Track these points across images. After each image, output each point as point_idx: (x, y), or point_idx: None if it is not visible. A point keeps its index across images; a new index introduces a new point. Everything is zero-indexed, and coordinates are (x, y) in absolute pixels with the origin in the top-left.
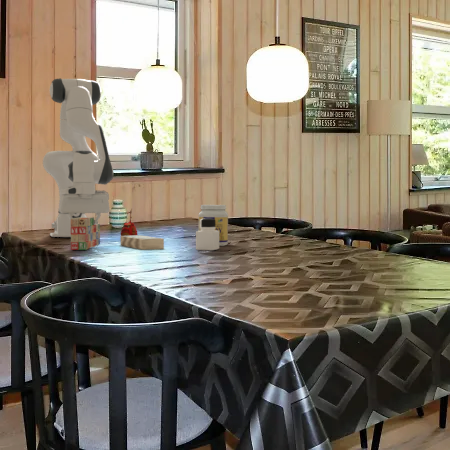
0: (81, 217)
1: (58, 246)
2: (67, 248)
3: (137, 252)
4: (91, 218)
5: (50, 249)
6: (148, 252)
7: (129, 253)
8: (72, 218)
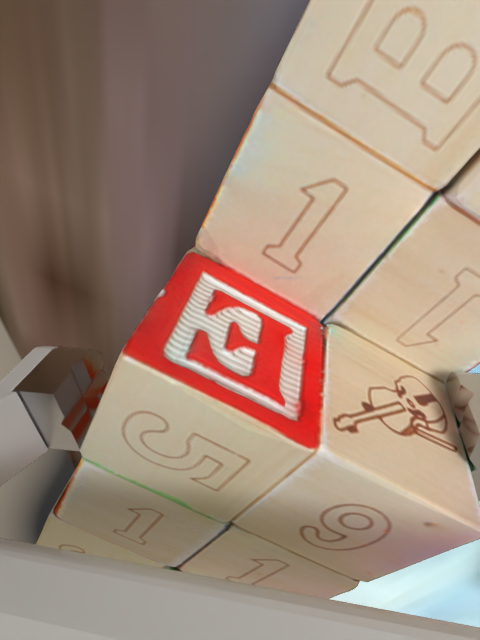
0: (169, 433)
1: (45, 69)
2: (133, 319)
3: (398, 600)
4: (323, 589)
5: (31, 334)
6: (437, 616)
7: (349, 601)
8: (3, 475)
